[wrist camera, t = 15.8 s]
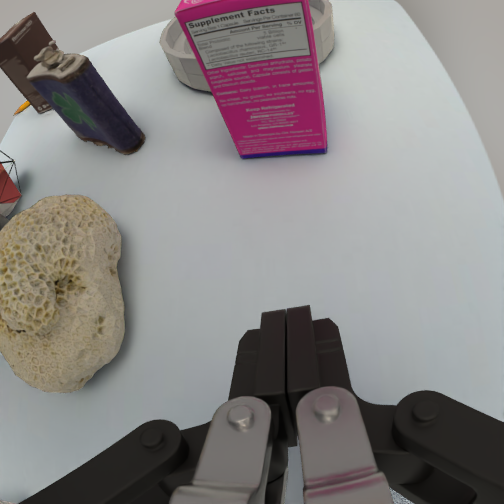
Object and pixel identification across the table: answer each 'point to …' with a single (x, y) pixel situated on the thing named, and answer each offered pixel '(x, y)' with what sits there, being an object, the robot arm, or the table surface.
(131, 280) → the table surface
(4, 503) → the mug
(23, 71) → the box
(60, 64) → the flask
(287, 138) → the supplement box
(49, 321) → the decorative item
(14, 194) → the geometric puzzle
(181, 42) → the bowl
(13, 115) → the pencil
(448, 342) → the table surface
